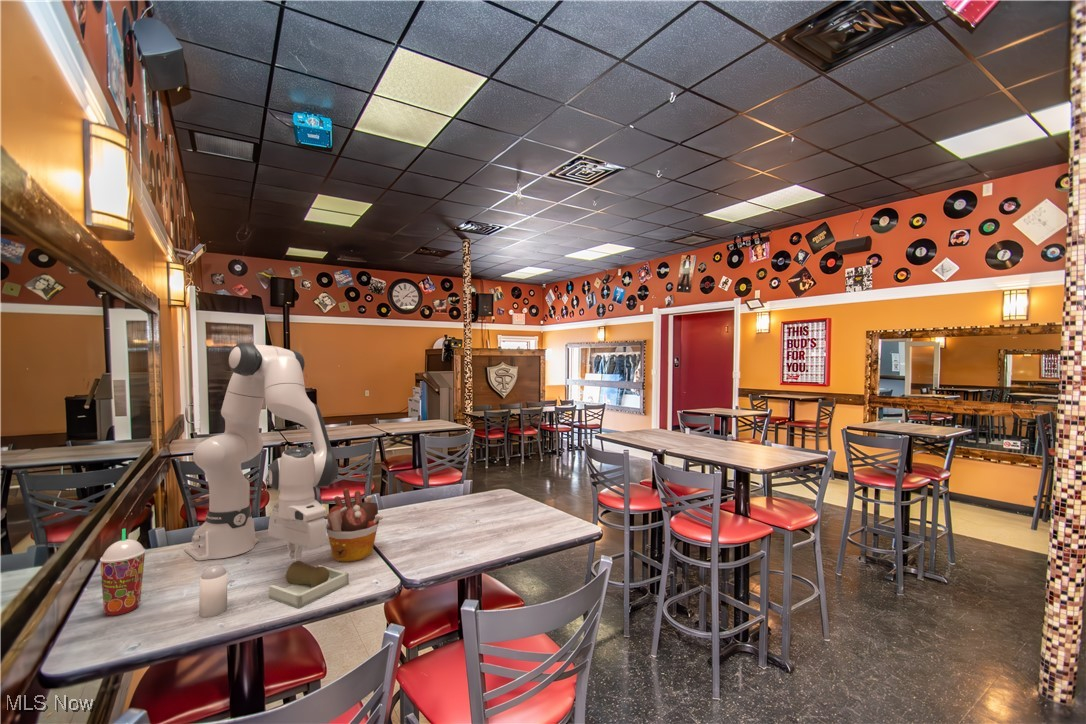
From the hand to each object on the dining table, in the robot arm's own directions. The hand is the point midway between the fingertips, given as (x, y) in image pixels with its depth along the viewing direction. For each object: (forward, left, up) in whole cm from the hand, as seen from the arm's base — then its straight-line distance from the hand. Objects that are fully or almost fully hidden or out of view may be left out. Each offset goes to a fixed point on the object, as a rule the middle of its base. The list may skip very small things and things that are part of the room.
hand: (295, 558), depth 126 cm
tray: (+6, 0, -8) cm, 10 cm away
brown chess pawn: (-2, +1, -5) cm, 5 cm away
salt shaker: (-6, -18, -8) cm, 20 cm away
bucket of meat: (-4, +23, -8) cm, 24 cm away
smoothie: (-27, -28, -8) cm, 39 cm away
